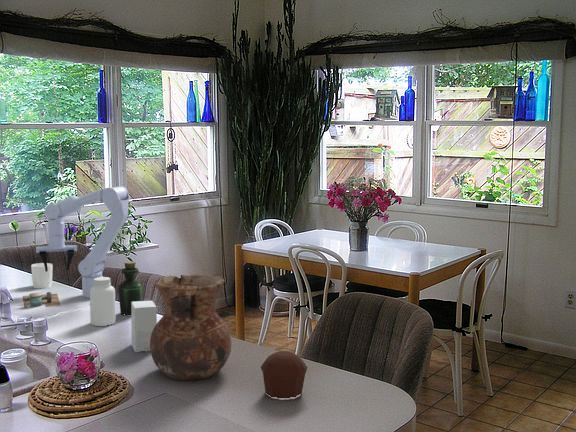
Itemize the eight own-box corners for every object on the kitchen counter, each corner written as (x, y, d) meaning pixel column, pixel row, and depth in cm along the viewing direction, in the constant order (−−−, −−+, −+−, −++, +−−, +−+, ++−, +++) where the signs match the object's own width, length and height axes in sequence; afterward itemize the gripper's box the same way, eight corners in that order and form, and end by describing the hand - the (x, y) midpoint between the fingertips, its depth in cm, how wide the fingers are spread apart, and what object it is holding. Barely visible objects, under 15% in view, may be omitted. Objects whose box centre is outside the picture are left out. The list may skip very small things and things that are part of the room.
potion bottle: (113, 313, 233) (113, 261, 231) (134, 309, 238) (134, 259, 236) (125, 318, 227) (125, 265, 225) (146, 314, 232) (146, 262, 230)
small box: (157, 350, 193) (157, 306, 192) (134, 352, 191) (134, 308, 190) (152, 342, 201) (152, 299, 200) (131, 344, 199) (130, 301, 197)
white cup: (46, 292, 261) (45, 267, 260) (27, 291, 262) (27, 266, 261) (56, 288, 268) (56, 263, 267) (39, 287, 270) (38, 262, 269)
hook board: (61, 309, 236) (60, 295, 236) (23, 312, 232) (23, 298, 231) (57, 297, 254) (56, 284, 253) (22, 299, 249) (22, 286, 248)
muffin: (313, 400, 159) (314, 359, 158) (267, 405, 156) (268, 363, 155) (298, 382, 170) (299, 344, 169) (255, 386, 167) (256, 347, 166)
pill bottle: (85, 325, 218) (84, 279, 216) (100, 319, 225) (100, 275, 224) (105, 328, 215) (104, 282, 213) (120, 321, 222) (120, 277, 221)
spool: (45, 308, 237) (44, 293, 236) (35, 311, 233) (34, 295, 232) (36, 307, 239) (36, 292, 238) (27, 309, 235) (26, 294, 235)
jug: (142, 363, 183) (142, 272, 180) (216, 354, 191) (217, 268, 188) (160, 392, 162) (160, 290, 160) (242, 381, 171) (244, 284, 168)
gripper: (75, 232, 259) (76, 267, 261) (35, 234, 254) (36, 269, 255) (77, 235, 253) (78, 270, 254) (36, 236, 247) (37, 273, 249)
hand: (57, 270), depth 254 cm, fingers open, 7 cm apart
